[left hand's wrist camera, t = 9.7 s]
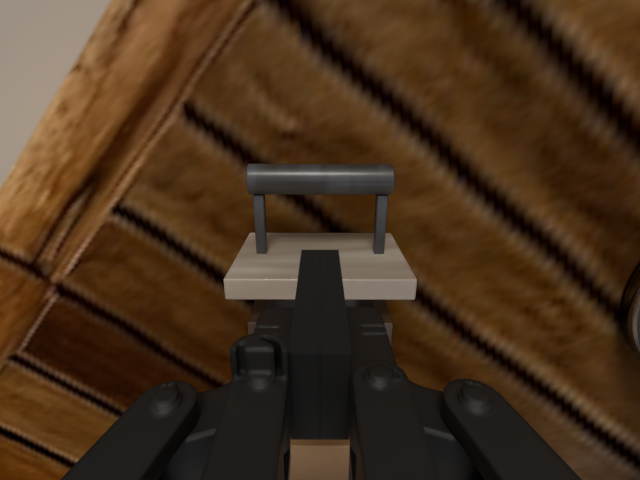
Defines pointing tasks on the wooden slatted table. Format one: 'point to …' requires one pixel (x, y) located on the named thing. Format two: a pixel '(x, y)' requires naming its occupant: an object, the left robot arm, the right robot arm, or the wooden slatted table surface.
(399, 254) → the drawer
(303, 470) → the cabinet
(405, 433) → the left robot arm
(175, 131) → the wooden slatted table surface
